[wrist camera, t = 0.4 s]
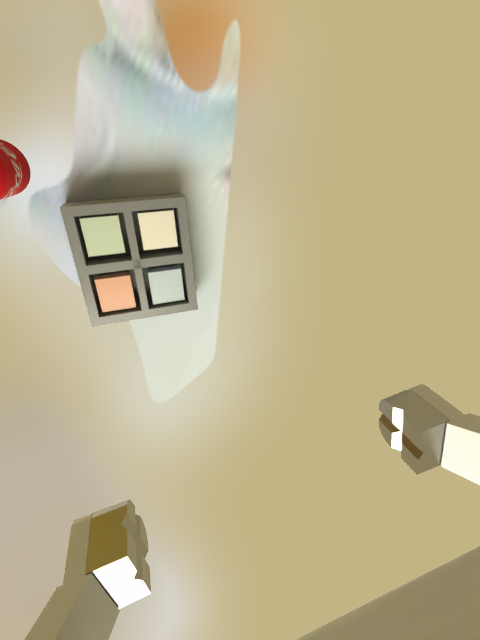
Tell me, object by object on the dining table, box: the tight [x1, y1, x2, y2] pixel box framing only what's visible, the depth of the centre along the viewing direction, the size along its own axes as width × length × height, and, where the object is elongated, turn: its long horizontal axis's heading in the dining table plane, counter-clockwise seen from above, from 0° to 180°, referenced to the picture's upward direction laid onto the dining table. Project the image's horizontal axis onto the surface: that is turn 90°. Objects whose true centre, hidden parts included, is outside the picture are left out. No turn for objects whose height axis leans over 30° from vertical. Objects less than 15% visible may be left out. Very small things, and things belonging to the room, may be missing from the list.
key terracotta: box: [95, 271, 136, 313], centre depth 48 cm, size 5×5×2 cm
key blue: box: [147, 265, 185, 305], centre depth 50 cm, size 5×5×2 cm
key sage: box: [79, 213, 125, 257], centre depth 45 cm, size 5×5×2 cm
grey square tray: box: [60, 194, 198, 326], centre depth 48 cm, size 16×15×5 cm
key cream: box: [137, 208, 178, 250], centre depth 46 cm, size 5×5×2 cm
